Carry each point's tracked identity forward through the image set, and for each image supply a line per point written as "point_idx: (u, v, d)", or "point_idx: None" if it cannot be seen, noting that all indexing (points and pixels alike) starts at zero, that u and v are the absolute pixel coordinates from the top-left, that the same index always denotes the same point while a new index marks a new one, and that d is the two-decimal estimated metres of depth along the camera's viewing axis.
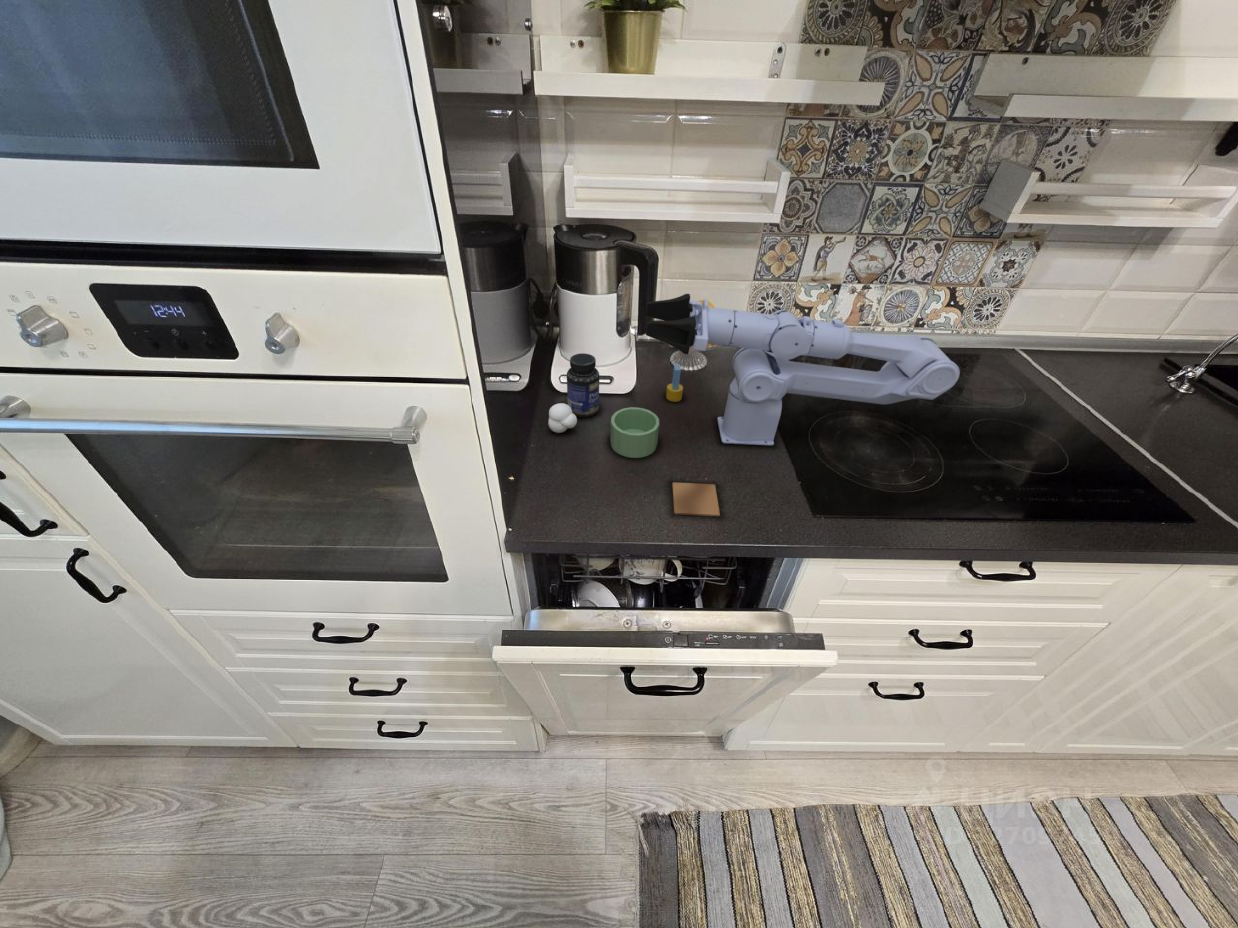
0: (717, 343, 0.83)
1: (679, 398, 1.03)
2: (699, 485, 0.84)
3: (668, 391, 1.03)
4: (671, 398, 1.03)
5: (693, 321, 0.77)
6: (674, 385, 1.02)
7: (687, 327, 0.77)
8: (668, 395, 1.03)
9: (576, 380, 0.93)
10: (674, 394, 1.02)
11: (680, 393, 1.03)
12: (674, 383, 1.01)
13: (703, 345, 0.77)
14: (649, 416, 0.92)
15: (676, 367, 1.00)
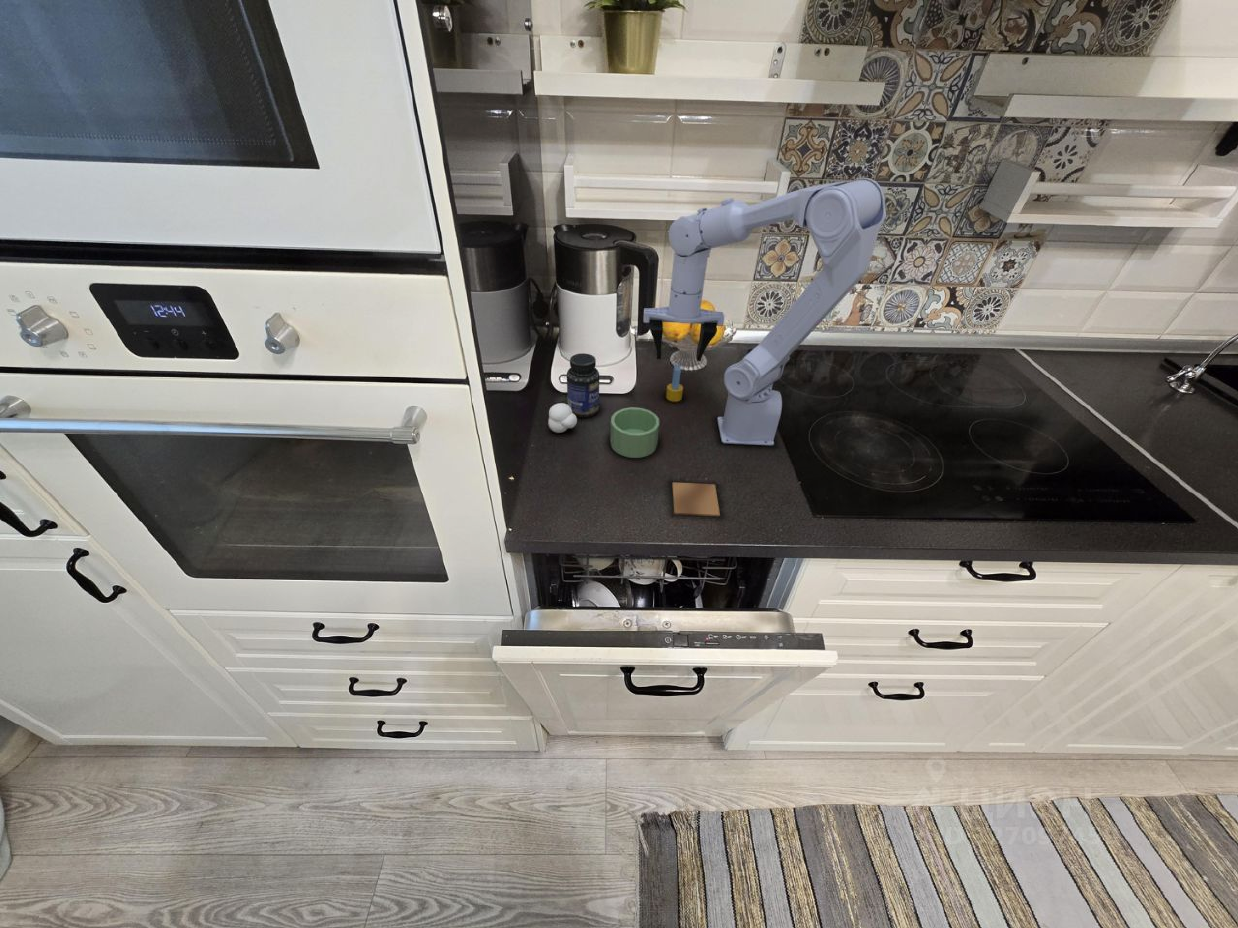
0: (674, 302, 0.90)
1: (679, 398, 1.03)
2: (699, 485, 0.84)
3: (668, 391, 1.03)
4: (671, 398, 1.03)
5: None
6: (674, 385, 1.02)
7: None
8: (668, 395, 1.03)
9: (576, 380, 0.93)
10: (674, 394, 1.02)
11: (680, 393, 1.03)
12: (674, 383, 1.01)
13: None
14: (649, 416, 0.92)
15: (676, 367, 1.00)
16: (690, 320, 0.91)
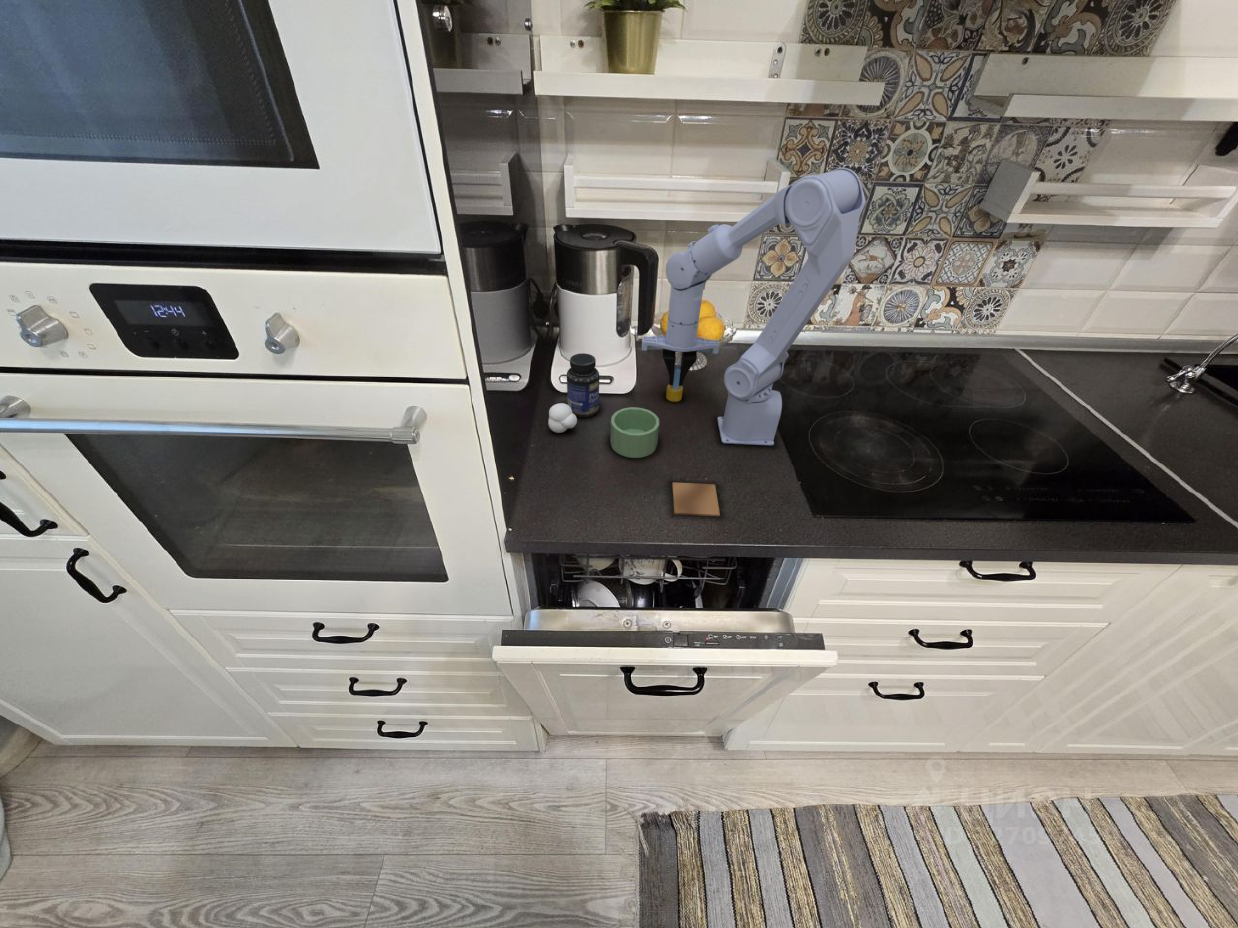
0: (671, 332, 0.94)
1: (679, 398, 1.03)
2: (699, 485, 0.84)
3: (668, 391, 1.03)
4: (671, 398, 1.03)
5: None
6: (674, 385, 1.02)
7: None
8: (668, 395, 1.03)
9: (576, 380, 0.93)
10: (673, 394, 1.02)
11: (680, 393, 1.03)
12: (674, 383, 1.01)
13: (642, 341, 0.97)
14: (649, 416, 0.92)
15: (676, 367, 1.00)
16: (686, 349, 0.95)
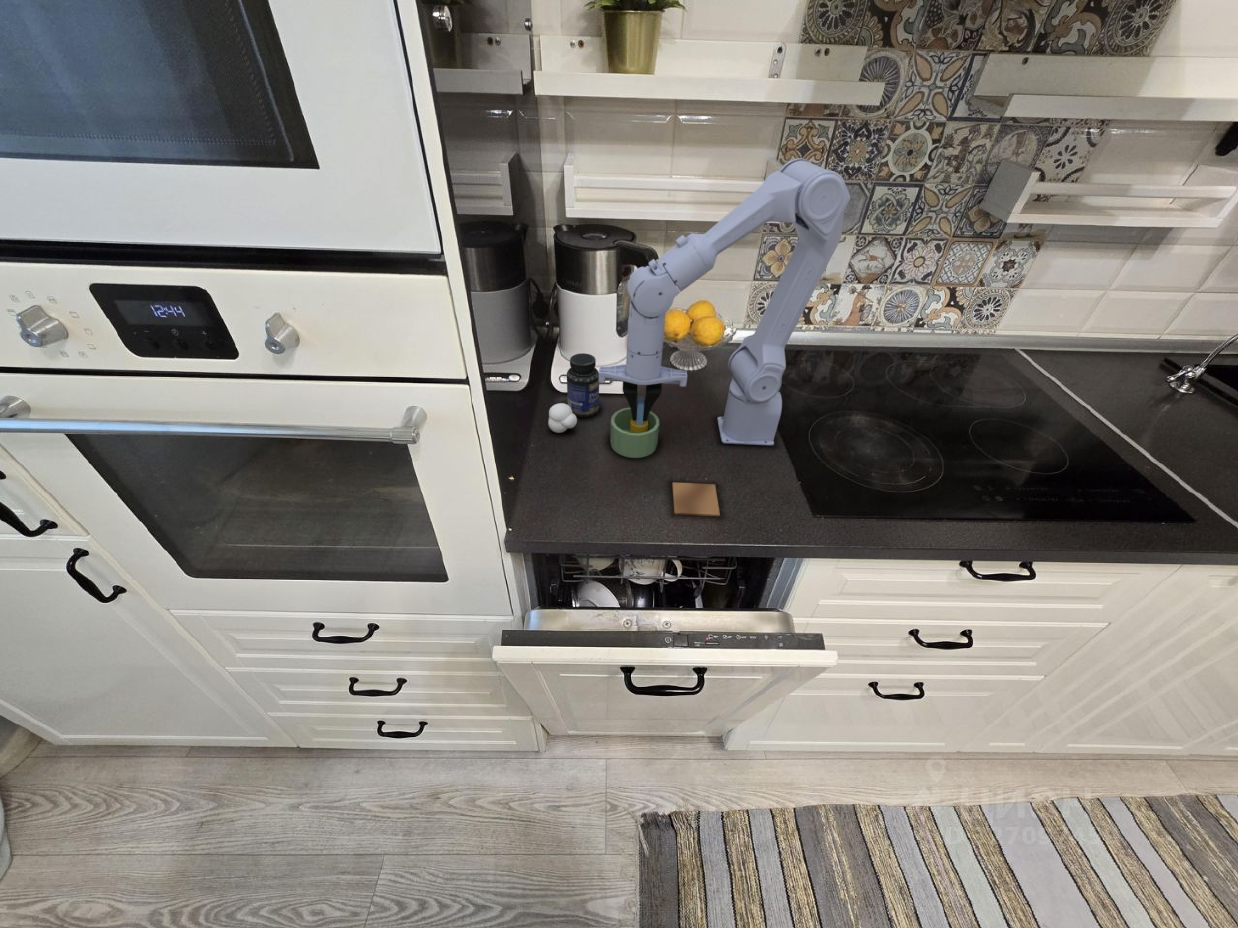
0: (631, 362, 0.81)
1: None
2: (699, 485, 0.84)
3: (631, 426, 0.91)
4: None
5: None
6: (638, 420, 0.89)
7: None
8: (632, 431, 0.91)
9: (576, 380, 0.93)
10: (637, 430, 0.90)
11: (645, 429, 0.90)
12: (637, 418, 0.89)
13: (599, 372, 0.85)
14: (649, 416, 0.92)
15: (639, 400, 0.88)
16: (649, 382, 0.82)
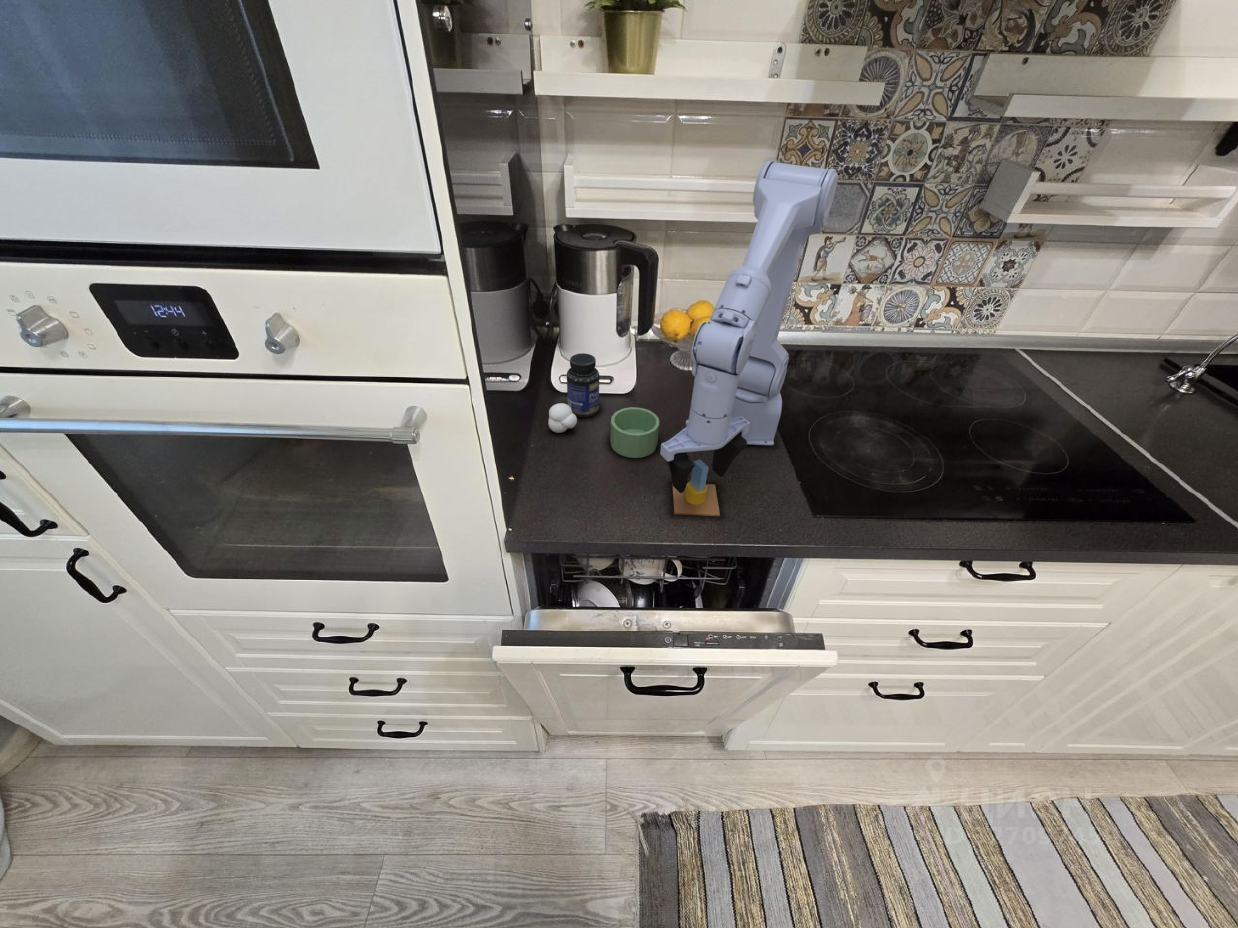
0: (706, 428, 0.69)
1: (705, 497, 0.81)
2: None
3: (693, 495, 0.79)
4: (698, 501, 0.80)
5: None
6: (701, 486, 0.78)
7: None
8: (694, 499, 0.80)
9: (576, 380, 0.93)
10: (701, 496, 0.79)
11: (706, 491, 0.80)
12: (701, 484, 0.78)
13: (665, 450, 0.71)
14: (649, 416, 0.92)
15: (700, 465, 0.77)
16: (724, 442, 0.72)
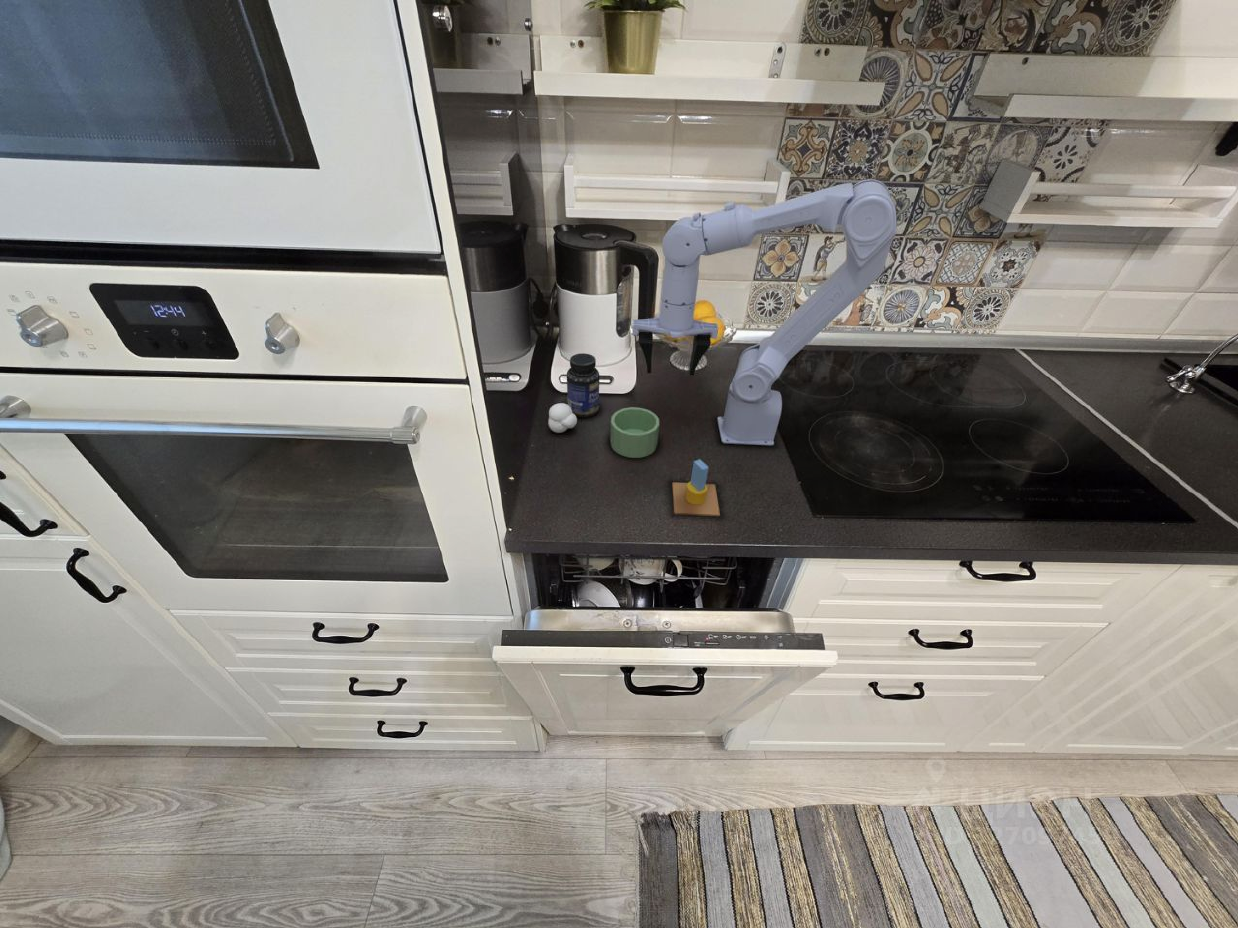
0: None
1: (705, 497, 0.81)
2: None
3: (693, 495, 0.79)
4: (698, 501, 0.80)
5: (706, 346, 0.87)
6: (701, 486, 0.78)
7: None
8: (694, 499, 0.80)
9: (576, 380, 0.93)
10: (701, 496, 0.79)
11: (706, 491, 0.80)
12: (701, 484, 0.78)
13: None
14: (649, 416, 0.92)
15: (700, 465, 0.77)
16: None
